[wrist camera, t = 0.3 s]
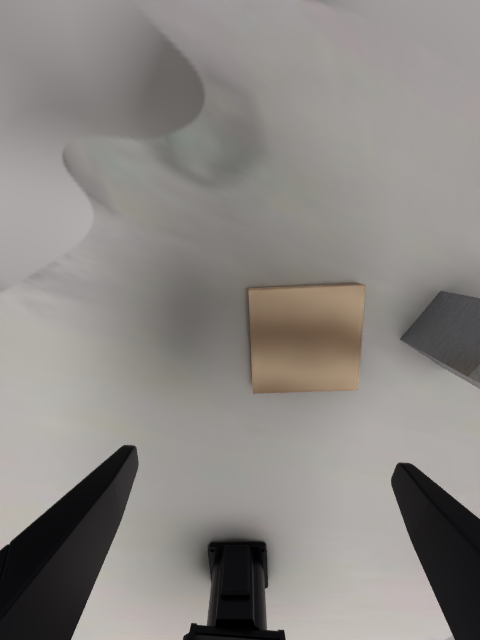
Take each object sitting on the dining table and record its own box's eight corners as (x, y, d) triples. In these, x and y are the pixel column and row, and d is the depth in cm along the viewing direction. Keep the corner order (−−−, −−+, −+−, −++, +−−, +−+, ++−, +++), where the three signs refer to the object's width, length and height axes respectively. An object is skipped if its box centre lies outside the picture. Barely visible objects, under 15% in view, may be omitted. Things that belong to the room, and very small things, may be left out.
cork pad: (350, 381, 23) (357, 390, 22) (252, 384, 24) (252, 393, 22) (357, 282, 21) (365, 285, 20) (248, 288, 21) (248, 290, 20)
